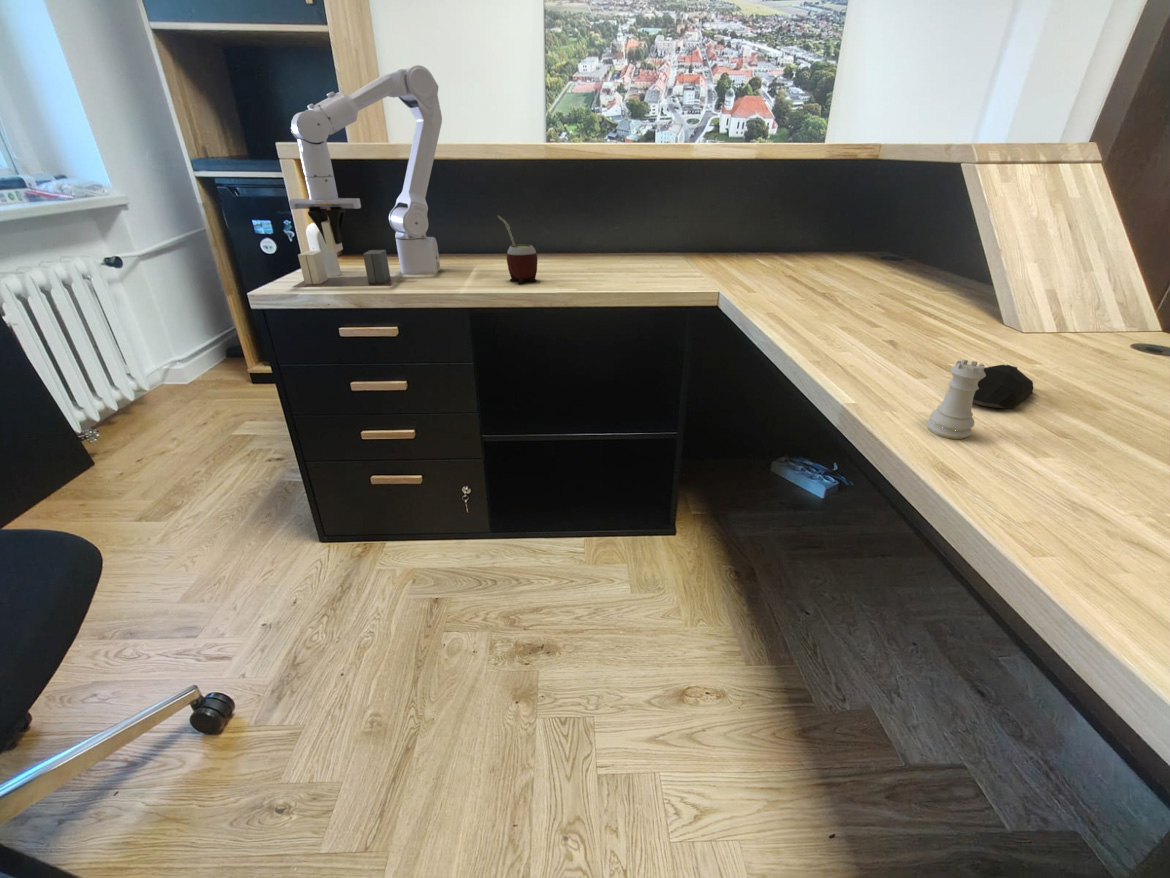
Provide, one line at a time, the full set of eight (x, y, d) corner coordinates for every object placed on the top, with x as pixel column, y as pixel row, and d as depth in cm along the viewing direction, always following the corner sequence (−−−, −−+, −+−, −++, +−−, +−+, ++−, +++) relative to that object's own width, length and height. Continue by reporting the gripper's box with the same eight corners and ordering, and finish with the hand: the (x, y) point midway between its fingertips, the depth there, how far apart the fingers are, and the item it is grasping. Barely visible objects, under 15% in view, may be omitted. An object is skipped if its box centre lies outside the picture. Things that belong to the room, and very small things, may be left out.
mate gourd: (541, 278, 133) (538, 211, 126) (533, 286, 126) (530, 215, 119) (511, 277, 134) (506, 211, 127) (502, 285, 127) (496, 215, 120)
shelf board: (402, 279, 134) (402, 276, 133) (391, 289, 125) (390, 285, 124) (310, 280, 133) (309, 277, 133) (292, 290, 124) (291, 287, 124)
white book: (343, 249, 128) (336, 219, 124) (335, 253, 123) (328, 222, 120) (336, 249, 128) (329, 219, 124) (328, 253, 123) (321, 222, 120)
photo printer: (313, 273, 140) (301, 221, 134) (330, 271, 143) (319, 220, 137) (326, 280, 133) (313, 225, 127) (344, 277, 136) (332, 224, 130)
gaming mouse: (1049, 387, 73) (1061, 358, 71) (1001, 416, 66) (1014, 385, 64) (996, 373, 78) (1006, 345, 76) (946, 399, 70) (955, 369, 68)
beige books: (328, 279, 131) (321, 250, 127) (320, 284, 126) (313, 254, 123) (313, 279, 130) (306, 250, 127) (304, 284, 126) (297, 254, 123)
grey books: (390, 278, 131) (385, 249, 128) (384, 283, 127) (379, 253, 123) (374, 278, 131) (369, 250, 128) (368, 283, 126) (362, 253, 123)
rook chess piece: (921, 420, 65) (941, 355, 61) (964, 424, 64) (988, 358, 60) (930, 437, 61) (952, 369, 57) (976, 442, 60) (1002, 373, 56)
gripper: (276, 177, 114) (293, 246, 121) (347, 177, 115) (360, 245, 121) (291, 176, 120) (306, 241, 127) (358, 175, 121) (370, 240, 127)
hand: (333, 243), depth 124 cm, fingers closed on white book, 1 cm apart
